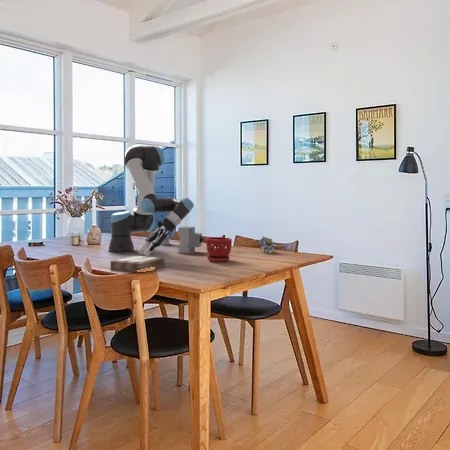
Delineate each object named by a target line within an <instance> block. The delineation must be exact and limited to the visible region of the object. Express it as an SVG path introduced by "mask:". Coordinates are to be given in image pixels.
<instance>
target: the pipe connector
mask: <svg viewBox="0 0 450 450" xmlns="http://www.w3.org/2000/svg"><path fill="white" fill-rule="evenodd" d="M145 242H146V241H145ZM150 245H151V243H149V242H146V250H147V249H148V247H149V246H150ZM137 250H138V249H137ZM146 250H138V251H137V253H138V254H140V253H142V254H143V253H144V252H145V251H146ZM158 253H159V251H158V249H156V248H155V249H154V250H153V251H152V252H151V253H150V255H151V254H158ZM150 255H149V256H148V257H151V256H150Z"/></svg>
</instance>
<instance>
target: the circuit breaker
mask: <svg viewBox="0 0 450 450" xmlns="http://www.w3.org/2000/svg"><path fill="white" fill-rule="evenodd" d="M177 228H178V229H177V235H178V236H179V244H178V245H177V251H178V252H177V253H178V254H193V253H195V252H196V248H199V247H202V246H203V241H205V240H204V239H205V238H204V237H203V232H196V227H195V226H188V225H187V226H185V225H184V226H182V225H181V226H179V227H177Z"/></svg>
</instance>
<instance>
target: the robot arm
mask: <svg viewBox="0 0 450 450" xmlns="http://www.w3.org/2000/svg"><path fill="white" fill-rule="evenodd" d="M123 161H124V165H125V168H126V169H127V170H128V171H129V173H130V174H131V177H132V178H133V181H134V184H135V185H136V188H137V191H138V194H137V200H136V202H137V203H136V207H135V208H134V209H133V211H132V212H133V213H132V212H131V211H129V210H128V211H118V212H114V213H112V214H111V215H110V230H111V232H110V234H111V238H110V242H109V245H108V251H109V252H113V253H123V252H124V253H126V252H133V251H135V245H134V243H133V240H132V233H146V232H151V231H152V230H153V229H154V228H155V225H156V216H155V214H156V213H168V214H167V215H166V216H165V218H163V220H162V221H160V222H161V224H162V227H161V228H159V227H158V228H157V227H156V229H155V230H154V231H153V232H151V234H150V235H148V236H147V237H146V238H145V240H144V243H142V245H141V246H140V247H139V248H138V249H137V252H138V250H146V242H149V243H150V246H149V247H148V249H147V250H146V251H145V252H144V253H139V254H140V255H142V254H143V255H144V257H148V256H149V255H151V254H152V253H151V252H152V251H153V250H154V249H156V248H158V247H160V246H162V245H161V243H162V242H163V241H164V239H165V238H166V236H167V235H168V234H169V235H170V234H171V233H173V230H174V231H175V229H176V227H177V226H178V225H180V224H181V222H182V221H183V220H184V219H185V218H186V217H187V216H188V214H190V212H191V211H192V210H193V208H194V207H195V203H194V202H193V201H192V200H191V199H190V198H189V197H186V196H185V197H182V198H181V199H178V198H176V197H173V196H172V197H171V196H168V197H167V196H166V198H162V197H161V198H159V197H157V195H156V193H155V190H154V186H155V180H156V175H157V174H156V173H157V172H158V171H159V169H160V167H162V166H163V165H164V163H165V155H164V152H163V150H162V148H161V147H160V146H155V145H139V144H138V145H137V144H136V145H134V144H133V145H132V146H129V148H128V149H127V150H126V152H125V154H124V159H123Z"/></svg>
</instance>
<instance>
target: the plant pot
mask: <svg viewBox="0 0 450 450" xmlns="http://www.w3.org/2000/svg"><path fill="white" fill-rule="evenodd" d="M232 243H233V241H232V238H231V237H222V236H221V237H218V236H216V237H215V236H214V237H213V236H212V237H210V236H209V237H207V238H206V250H207V253H208V256H207V260H208V261H210V262H212V263H213V262H217V263H218V262H219V263H222V262H223V263H224V262H227V261H229V260H230V256H229V255H230V254H231V249H232Z"/></svg>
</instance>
